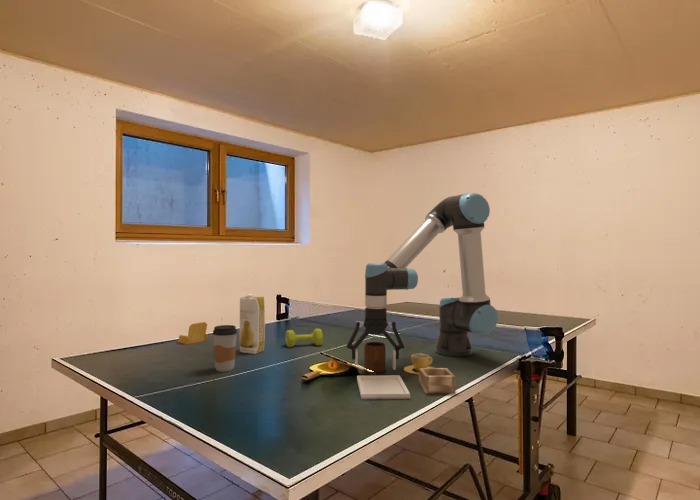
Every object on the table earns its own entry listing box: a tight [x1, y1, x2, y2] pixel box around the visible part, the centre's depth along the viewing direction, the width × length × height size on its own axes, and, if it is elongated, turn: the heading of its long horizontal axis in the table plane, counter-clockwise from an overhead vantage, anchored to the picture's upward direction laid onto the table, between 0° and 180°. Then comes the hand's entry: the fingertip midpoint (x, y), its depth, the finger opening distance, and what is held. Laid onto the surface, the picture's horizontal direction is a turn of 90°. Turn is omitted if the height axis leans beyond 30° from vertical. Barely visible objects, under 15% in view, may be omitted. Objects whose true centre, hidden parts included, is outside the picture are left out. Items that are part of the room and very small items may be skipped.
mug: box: [363, 341, 387, 374], centre depth 149 cm, size 12×8×9 cm, turn 2°
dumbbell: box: [284, 328, 324, 348], centre depth 190 cm, size 16×8×7 cm, turn 106°
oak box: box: [418, 367, 456, 394], centre depth 132 cm, size 9×9×5 cm
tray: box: [356, 374, 411, 400], centre depth 131 cm, size 14×18×2 cm
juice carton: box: [239, 293, 266, 355], centre depth 178 cm, size 9×8×24 cm
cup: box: [403, 353, 435, 375], centre depth 152 cm, size 12×12×5 cm
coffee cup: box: [212, 324, 238, 373], centre depth 151 cm, size 8×8×15 cm
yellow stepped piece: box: [177, 321, 209, 345], centre depth 197 cm, size 10×10×9 cm
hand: (375, 368), depth 149 cm, fingers open, 12 cm apart
